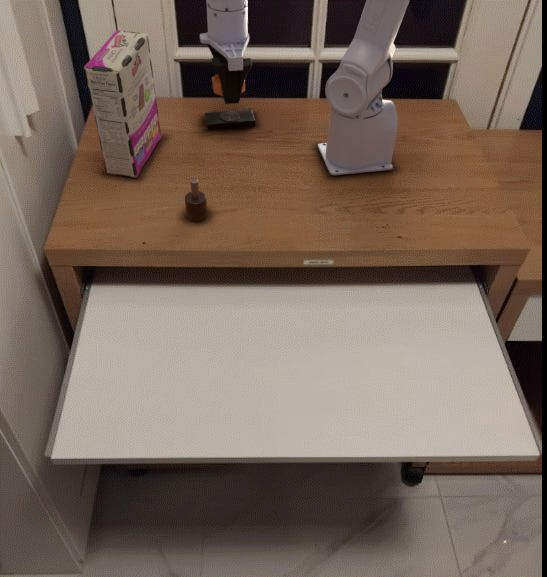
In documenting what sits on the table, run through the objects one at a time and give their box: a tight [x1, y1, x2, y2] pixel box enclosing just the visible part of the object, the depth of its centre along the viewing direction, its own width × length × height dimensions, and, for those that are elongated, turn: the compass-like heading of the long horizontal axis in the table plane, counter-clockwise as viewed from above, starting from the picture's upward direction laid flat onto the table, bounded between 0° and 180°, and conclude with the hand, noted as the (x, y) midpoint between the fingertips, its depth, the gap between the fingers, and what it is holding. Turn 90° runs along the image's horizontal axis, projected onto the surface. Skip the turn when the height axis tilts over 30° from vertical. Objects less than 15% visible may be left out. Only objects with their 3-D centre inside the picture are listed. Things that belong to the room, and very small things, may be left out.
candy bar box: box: [83, 30, 162, 179], centre depth 89 cm, size 11×5×16 cm, turn 168°
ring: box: [211, 73, 246, 97], centre depth 97 cm, size 5×5×2 cm
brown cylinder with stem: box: [184, 178, 208, 222], centre depth 83 cm, size 3×3×6 cm
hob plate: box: [204, 108, 256, 131], centre depth 101 cm, size 8×4×1 cm, turn 102°
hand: (229, 93), depth 98 cm, fingers closed on ring, 5 cm apart
